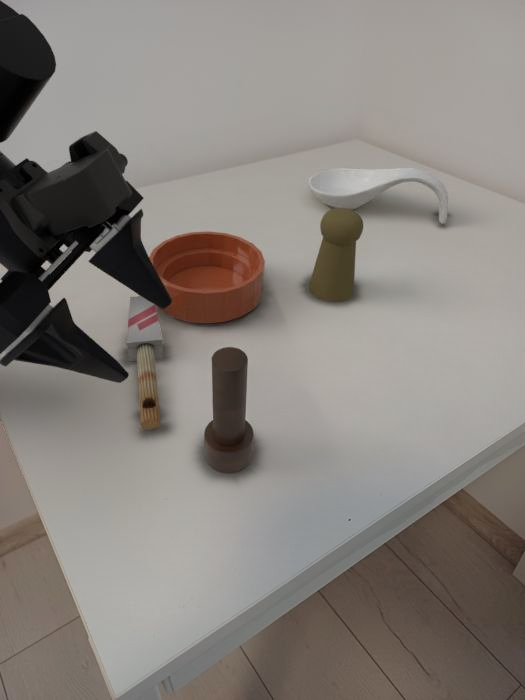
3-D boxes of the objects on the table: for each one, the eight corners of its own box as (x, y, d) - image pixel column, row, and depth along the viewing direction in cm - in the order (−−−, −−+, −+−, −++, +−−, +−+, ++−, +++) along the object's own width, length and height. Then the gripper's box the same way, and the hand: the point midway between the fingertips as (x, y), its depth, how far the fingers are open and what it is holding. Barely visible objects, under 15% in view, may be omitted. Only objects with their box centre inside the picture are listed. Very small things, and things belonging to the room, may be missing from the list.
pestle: (200, 470, 46) (195, 374, 38) (210, 432, 49) (207, 337, 42) (248, 476, 46) (254, 381, 38) (255, 438, 49) (261, 343, 41)
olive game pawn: (306, 298, 67) (316, 221, 60) (311, 273, 72) (321, 199, 64) (352, 305, 66) (368, 228, 59) (354, 279, 71) (369, 205, 64)
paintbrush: (157, 285, 62) (169, 413, 48) (159, 302, 64) (171, 431, 50) (124, 287, 61) (127, 418, 47) (127, 305, 63) (130, 436, 49)
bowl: (138, 319, 62) (133, 285, 59) (168, 258, 73) (165, 226, 69) (254, 333, 61) (256, 298, 58) (267, 269, 72) (270, 237, 68)
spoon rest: (300, 211, 86) (304, 168, 81) (313, 183, 94) (318, 144, 90) (445, 236, 82) (458, 193, 77) (445, 204, 90) (457, 164, 86)
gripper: (-80, 163, 23) (173, 382, 29) (102, 66, 37) (248, 228, 43) (-150, 283, 29) (71, 443, 35) (28, 162, 43) (165, 291, 49)
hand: (148, 339), depth 40 cm, fingers open, 9 cm apart
